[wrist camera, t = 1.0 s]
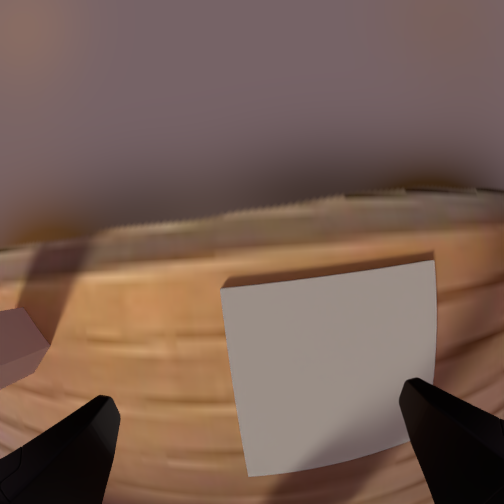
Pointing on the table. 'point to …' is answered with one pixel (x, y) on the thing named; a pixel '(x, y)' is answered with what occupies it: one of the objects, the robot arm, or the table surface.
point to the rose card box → (19, 346)
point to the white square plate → (328, 363)
